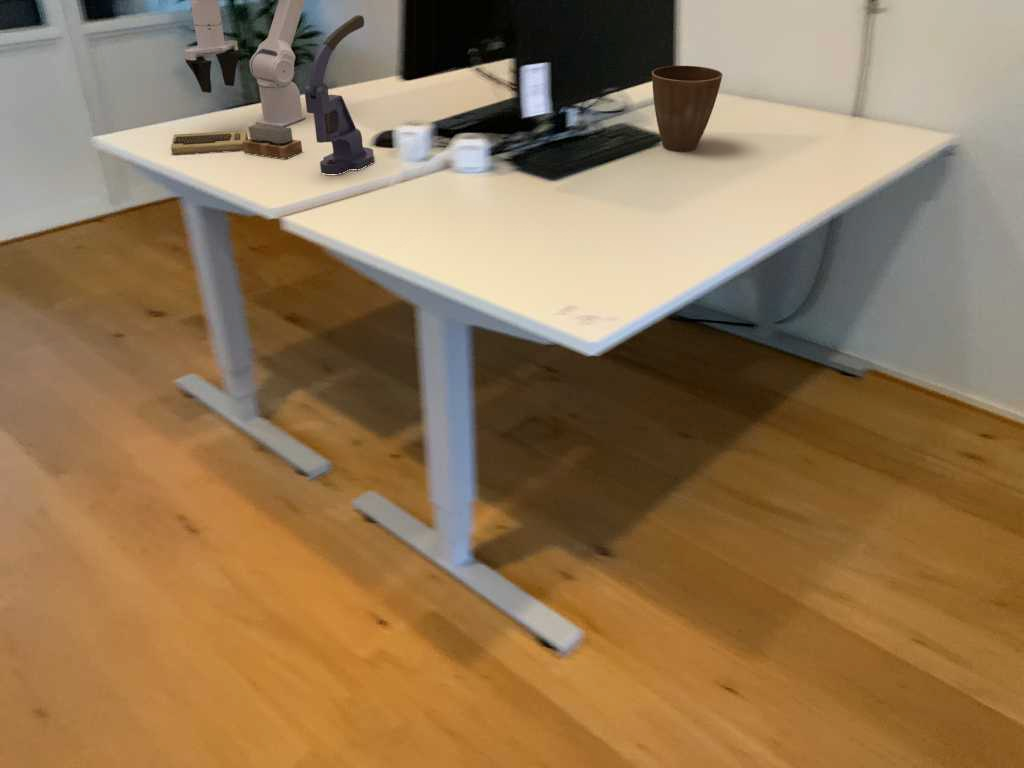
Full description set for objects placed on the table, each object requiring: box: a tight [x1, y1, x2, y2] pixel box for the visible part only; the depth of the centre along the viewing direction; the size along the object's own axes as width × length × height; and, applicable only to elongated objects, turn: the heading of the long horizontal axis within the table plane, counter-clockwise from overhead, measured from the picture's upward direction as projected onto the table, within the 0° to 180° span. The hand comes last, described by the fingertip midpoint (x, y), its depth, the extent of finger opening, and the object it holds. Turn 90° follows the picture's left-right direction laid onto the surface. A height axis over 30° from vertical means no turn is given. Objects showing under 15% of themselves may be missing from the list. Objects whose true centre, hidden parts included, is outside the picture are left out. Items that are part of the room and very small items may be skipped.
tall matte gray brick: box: [248, 123, 294, 146], centre depth 185 cm, size 3×9×6 cm, turn 65°
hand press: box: [304, 14, 375, 174], centre depth 172 cm, size 19×9×28 cm, turn 155°
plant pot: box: [651, 65, 723, 152], centre depth 187 cm, size 15×15×16 cm
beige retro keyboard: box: [170, 130, 249, 156], centre depth 188 cm, size 16×8×3 cm, turn 103°
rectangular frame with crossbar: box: [243, 138, 303, 160], centre depth 185 cm, size 6×11×2 cm, turn 65°
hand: (218, 88), depth 192 cm, fingers open, 7 cm apart
